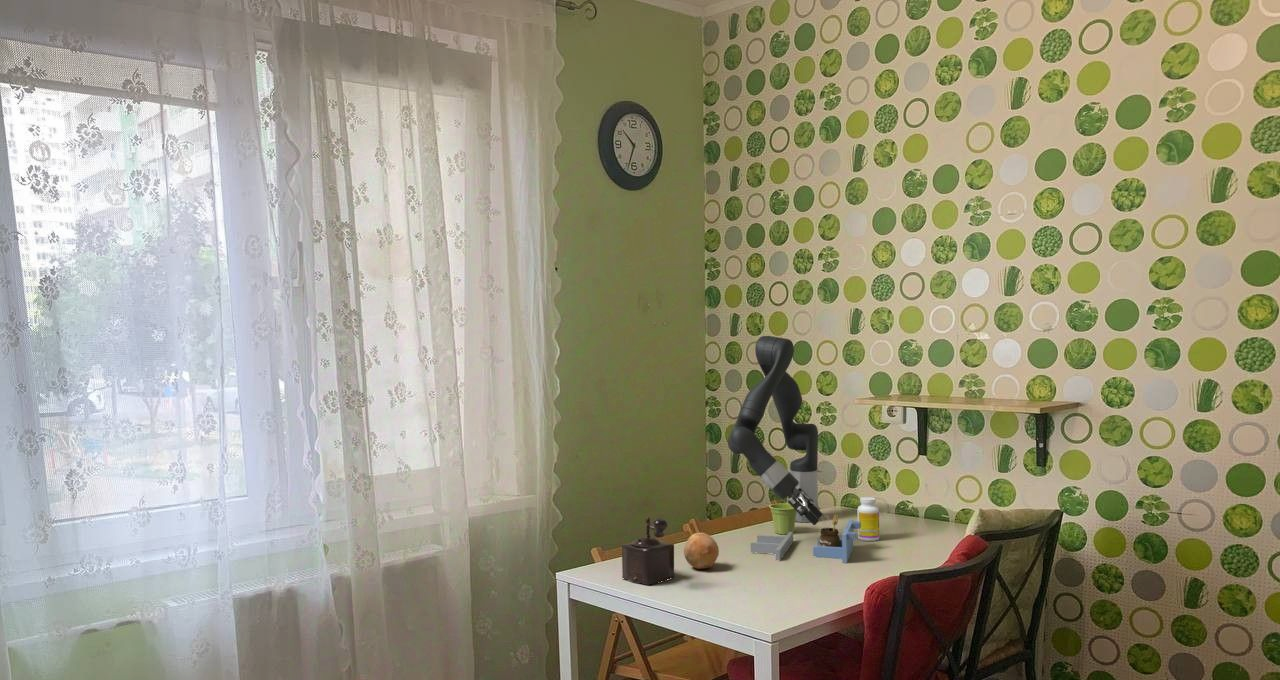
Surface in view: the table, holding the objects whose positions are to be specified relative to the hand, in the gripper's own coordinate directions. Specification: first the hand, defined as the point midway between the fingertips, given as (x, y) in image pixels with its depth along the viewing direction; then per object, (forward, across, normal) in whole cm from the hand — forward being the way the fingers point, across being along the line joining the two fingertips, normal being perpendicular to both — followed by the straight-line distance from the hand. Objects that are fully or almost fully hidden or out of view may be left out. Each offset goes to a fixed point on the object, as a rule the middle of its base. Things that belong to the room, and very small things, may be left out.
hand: (818, 519), depth 271 cm
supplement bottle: (+16, +20, -2) cm, 26 cm away
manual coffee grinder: (-20, -40, +34) cm, 57 cm away
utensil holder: (+9, 0, +5) cm, 10 cm away
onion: (-14, -25, +28) cm, 40 cm away
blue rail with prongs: (+10, 0, +3) cm, 11 cm away
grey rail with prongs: (-4, 0, +18) cm, 18 cm away
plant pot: (-3, +23, +17) cm, 29 cm away
